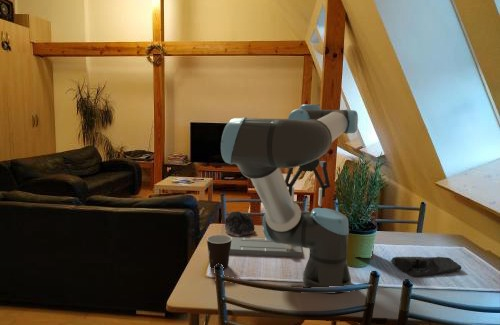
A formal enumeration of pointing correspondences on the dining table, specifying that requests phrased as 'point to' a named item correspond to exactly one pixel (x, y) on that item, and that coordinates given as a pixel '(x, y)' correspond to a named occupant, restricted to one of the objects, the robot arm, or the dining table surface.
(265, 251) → the console
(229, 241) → the coffee mug
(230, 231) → the dark grey rounded lump
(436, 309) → the dining table surface
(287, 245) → the fader left
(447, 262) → the dark slate chunk
